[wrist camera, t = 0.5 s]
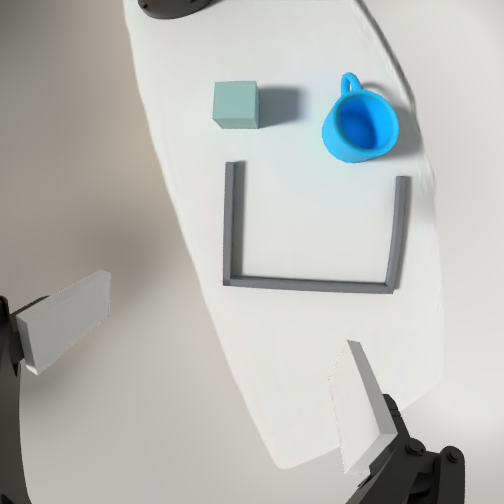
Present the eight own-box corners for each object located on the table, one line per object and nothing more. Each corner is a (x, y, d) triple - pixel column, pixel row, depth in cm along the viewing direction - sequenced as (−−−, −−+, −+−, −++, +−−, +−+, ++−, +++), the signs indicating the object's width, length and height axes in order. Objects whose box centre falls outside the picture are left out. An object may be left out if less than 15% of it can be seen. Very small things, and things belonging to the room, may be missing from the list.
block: (224, 96, 35) (214, 82, 29) (259, 96, 35) (255, 80, 29) (222, 128, 36) (212, 118, 31) (258, 128, 36) (254, 118, 30)
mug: (380, 162, 35) (404, 156, 27) (325, 165, 36) (337, 158, 28) (366, 84, 33) (384, 63, 25) (313, 85, 34) (320, 61, 26)
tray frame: (227, 163, 37) (225, 162, 36) (402, 177, 35) (406, 177, 34) (224, 282, 41) (222, 285, 40) (389, 290, 39) (392, 293, 37)
